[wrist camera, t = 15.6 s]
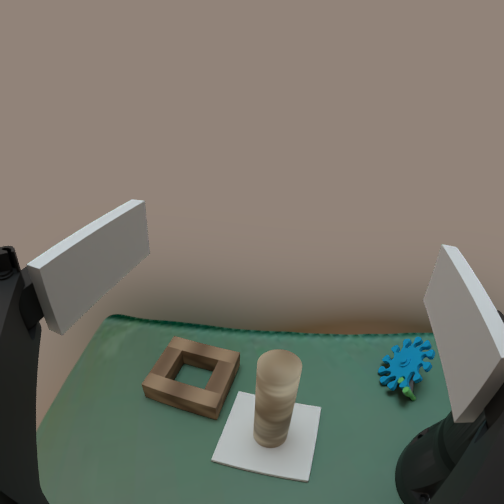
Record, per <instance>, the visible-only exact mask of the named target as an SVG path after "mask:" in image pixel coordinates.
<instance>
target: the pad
mask: <svg viewBox="0 0 504 504" xmlns="http://www.w3.org/2000/svg"><path fill="white" fill-rule="evenodd" d="M320 411H321V407H316V406H310V405H304V404H298V403H295V404H294V409H293V413H292V418H291V422H290V426H289V430H288V435H287V438H286V440H285V442H284V443H283V444H282V445H280V446H278V447H275V448H266V447H263V446H261V445H259V444H258V443H257V442H256V441H255V439H254V436H253V429H254V412H255V395H253V394H249V393H245V392H240V391H239V392H238V395H237V397H236V400H235V402H234V405H233V407H232V410H231V412H230V415H229V417H228V420H227V422H226V425H225V427H224V430H223V432H222V435H221V437H220V440H219V442H218V445H217V447H216V449H215V452H214V454H213V457H212V459H211V461H212V462H216V463H219V464H223V465H226V466H230V467H234V468H238V469H242V470H246V471H250V472H254V473H259V474H264V475H268V476H273V477H279V478H284V479H290V480H296V481H303V482H308V480H309V475H310V470H311V465H312V459H313V454H314V448H315V442H316V437H317V431H318V424H319V418H320Z"/></svg>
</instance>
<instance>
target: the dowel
mask: <svg viewBox="0 0 504 504" xmlns="http://www.w3.org/2000/svg"><path fill="white" fill-rule="evenodd" d="M301 371H302V363H301V360H300V359H299V358H298V356H296V355H295V354H294V353H292V352H290V351H286V350H279V349H278V350H271V351H268V352H266V353H264V354H263V355H261V356H260V358H259V359H258V362H257V377H256V395H255V412H254V429H253V436H254V439H255V441H256V442H257V443H258V444H259V445H261V446H263V447H266V448H275V447H278V446H280V445H282V444H283V443H284V442H285V440H286V438H287V435H288V430H289V426H290V422H291V418H292V413H293V409H294V404H295V400H296V395H297V390H298V385H299V381H300V376H301Z"/></svg>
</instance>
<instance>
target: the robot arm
mask: <svg viewBox="0 0 504 504" xmlns="http://www.w3.org/2000/svg"><path fill="white" fill-rule="evenodd" d="M149 254H150V250H149V240H148V230H147V220H146V209H145V201H142V200H130V201H128V202H126V203H125V204H123V205H121V206H119V207H118V208H116V209H114V210H112V211H110V212H109V213H107V214H105V215H104V216H102V217H100V218H98V219H97V220H95V221H94V222H92V223H90V224H88V225H87V226H85V227H83V228H82V229H80V230H79V231H77V232H75V233H74V234H72V235H70V236H69V237H67V238H66V239H64V240H63V241H61V242H59V243H58V244H56V245H55V246H53V247H52V248H50V249H49V250H47V251H46V252H44V253H43V254H41V255H40V256H38V257H37V258H35V259H34V260H32V261H31V262H29V263H28V264H27V267H25V268H24V269H22V270H21V269H20V266H19V263H18V259H17V256H16V252H15V249H14V248H13V247H12V246H4V247H0V504H49V503H48V501H47V499H46V498H45V496H44V494H43V493H42V490H41V487H40V482H39V472H38V461H37V445H36V386H37V368H38V357H39V345H40V338H41V325H40V323H39V321H40V319H42V318H43V317H44V318H45V320H46V323H47V325H48V328H49V329H50V330H52V331H54V332H56V333H58V334H60V335H63V334H64V333H65V332H66V331H67V330H68V329H69V328H70V327H71V326H72V325H73V324H74V323H75V322H76V321H78V319H79V318H81V316H83V314H85V313H86V312H87V311H88V310H89V309H90V308H91V307H92V306H93V305H94V304H95V303H96V302H97V301H98V300H99V299H101V298H102V297H103V295H105V294H106V293H107V292H108V291H109V290H110V289H111V288H112V287H113V286H115V285H116V284H117V283H118V282H119V281H120V280H121V279H122V278H123V277H124V276H125V275H127V274H128V273H129V272H130V271H131V270H132V269H133V268H134V267H135V266H137V265H138V264H139V263H140V262H141V261H142V260H143V259H145V258H146V257H147V256H148V255H149ZM423 301H424V304H425V307H426V310H427V313H428V317H429V320H430V323H431V326H432V330H433V333H434V337H435V340H436V344H437V348H438V351H439V355H440V359H441V363H442V367H443V371H444V375H445V380H446V384H447V389H448V393H449V398H450V403H451V408H452V410H451V412H450V413H449V414H448V416H447V417H446V418H445V419H443V420H441V421H440V422H438V423H436V424H434V425H432V426H430V427H429V428H427V429H425V430H423V431H422V432H420V433H419V434H418V435H417V436H415V437H414V438H413V440H412V441H411V442H410V443H409V444H408V445H407V447H406V448H405V449H404V450H403V452H402V454H401V455H400V458H399V460H398V463H397V467H396V485H397V489H398V492H399V495H400V497H401V499H402V500H403V502H404V503H405V504H504V315H503V314H502V313H501V312H500V311H498V310H496V308H495V307H494V305H493V303H492V301H491V300H490V298H489V296H488V295H487V293H486V291H485V290H484V288H483V286H482V285H481V283H480V281H479V280H478V278H477V277H476V275H475V274H474V272H473V271H472V269H471V267H470V266H469V265H468V263H467V261H466V260H465V258H464V257H463V256H462V254H461V252H460V251H459V250H458V248H457V247H453V246H448V245H443V244H442V245H441V248H440V251H439V255H438V258H437V261H436V264H435V267H434V270H433V274H432V276H431V279H430V282H429V285H428V288H427V291H426V293H425V296H424V299H423Z"/></svg>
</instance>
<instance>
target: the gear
mask: <svg viewBox="0 0 504 504" xmlns="http://www.w3.org/2000/svg"><path fill="white" fill-rule="evenodd" d="M422 343H423V340H422V339H421V338H420V337H416V338H415V341H414V343H413V344H412V342H411V340H410V339H405V340H404V341H403V348H402V350H401V351H400V348H399V346H398V345H396V346H394V347H392V348H391V350H392V351H393V353H394V358H393V359H392V360H391V358H390V357H389V355H386V356H385V357H384V358H383V359H382V360H383V362H384V363H385V364H390V367H389V368H387V369H385V367H384V366H381V367H380V368H379V370H378V373H379V374H380V375H384V374H387V373H390V375H389V376H382V377H381V378H380V382H381V383H382V385H386V384H387V383H388V382H389V381H391V380H393V379H395V380H394V381H392V382H389V383H388V384H387V386H388V387H389V389H390V390H392V391H394V390H395V389H396V387H397V385H398V384H400V385H399V387H400V388H401V389H402V393H403V394H404V395H405V396H407V397H410V398H411V400H412V401H414V400H415V399H416V397H415V396H414V394H413V387H414V382H415V383H419V382H421V381H422V377H421V375H420V374H419V368H420V367H421V366H423V369H424V370H425V372H428V371H430V369H431V368H432V365H431V363H430V362H424V361H423V359H424V358H425V357H428V358H429V359H433V358H434V356H435V352H434V350H429V349H430V348H431V344H430V342H429V341H428V340H427V341H425V342H424V343H423V344H422ZM411 344H412V345H411ZM421 344H422V345H421ZM410 345H411V346H410ZM419 345H421V346H419ZM409 346H410V347H409ZM417 346H419V347H417ZM408 347H409V348H408ZM422 350H429V351H427V352H422ZM399 351H400V352H399Z"/></svg>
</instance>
